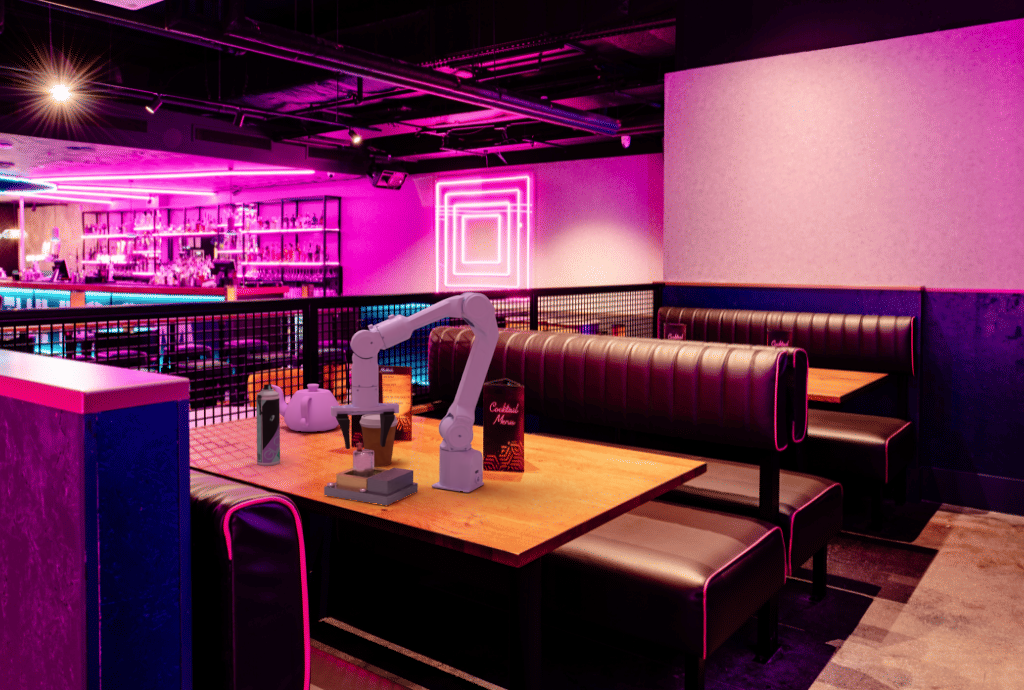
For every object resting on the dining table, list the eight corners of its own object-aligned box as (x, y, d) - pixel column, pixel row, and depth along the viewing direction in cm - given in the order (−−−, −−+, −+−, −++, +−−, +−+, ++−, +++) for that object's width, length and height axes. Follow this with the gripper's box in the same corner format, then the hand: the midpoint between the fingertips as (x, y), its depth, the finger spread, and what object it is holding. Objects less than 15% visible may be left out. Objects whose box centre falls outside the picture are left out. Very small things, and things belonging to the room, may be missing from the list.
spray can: (273, 466, 187) (272, 386, 185) (252, 465, 188) (251, 385, 186) (284, 461, 192) (283, 382, 191) (264, 459, 193) (263, 382, 192)
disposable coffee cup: (361, 468, 186) (360, 420, 185) (358, 459, 195) (358, 413, 194) (399, 467, 189) (400, 419, 188) (395, 457, 198) (395, 412, 197)
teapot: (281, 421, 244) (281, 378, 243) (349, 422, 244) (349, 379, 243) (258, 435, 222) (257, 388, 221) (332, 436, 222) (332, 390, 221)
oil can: (378, 482, 167) (378, 443, 167) (364, 486, 163) (364, 447, 163) (362, 479, 169) (362, 441, 169) (348, 483, 165) (348, 444, 165)
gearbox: (417, 491, 168) (417, 469, 167) (386, 506, 157) (386, 482, 156) (357, 482, 174) (357, 461, 174) (324, 495, 163) (324, 473, 163)
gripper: (394, 381, 172) (394, 441, 173) (328, 384, 166) (329, 445, 168) (401, 386, 165) (401, 447, 166) (333, 388, 160) (333, 452, 161)
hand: (365, 447), depth 167 cm, fingers open, 7 cm apart
